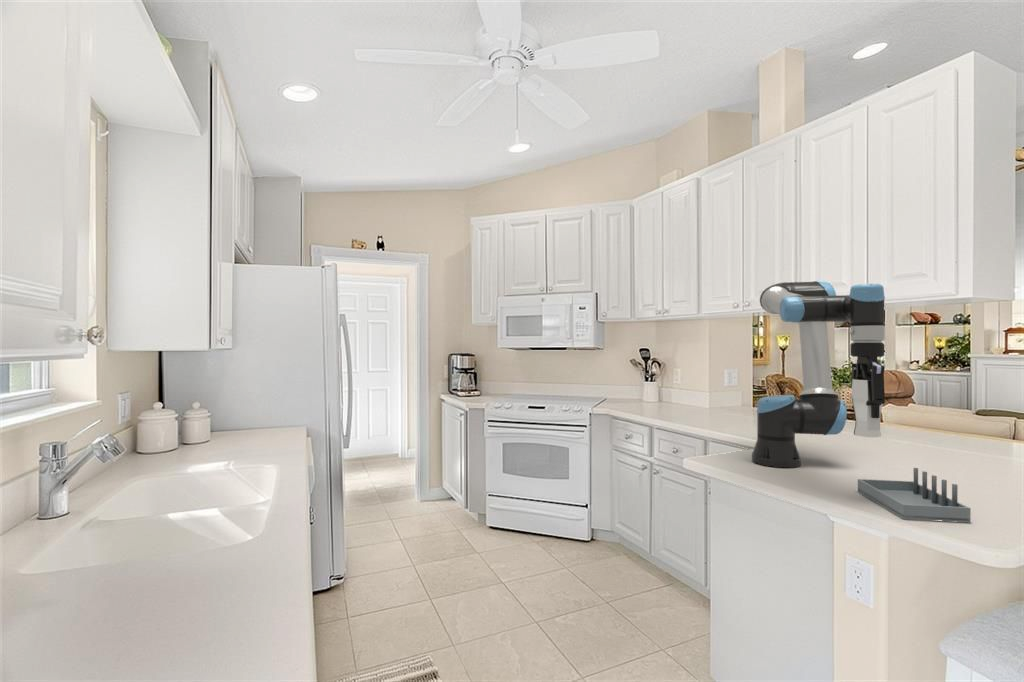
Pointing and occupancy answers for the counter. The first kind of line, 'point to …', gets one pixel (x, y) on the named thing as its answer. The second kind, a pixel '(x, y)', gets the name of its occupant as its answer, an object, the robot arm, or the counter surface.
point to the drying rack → (916, 499)
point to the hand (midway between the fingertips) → (867, 428)
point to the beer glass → (861, 408)
